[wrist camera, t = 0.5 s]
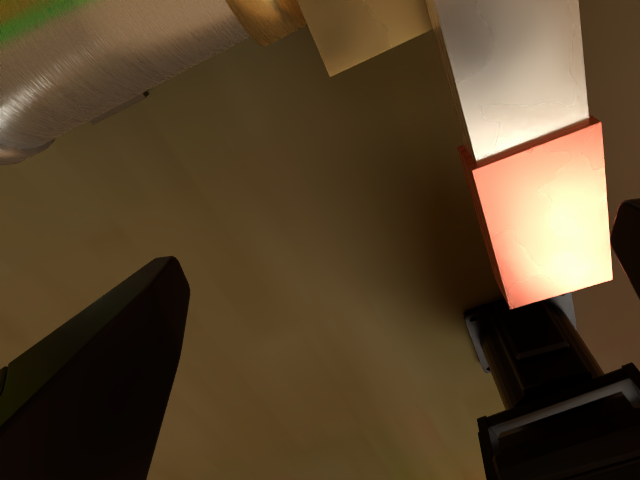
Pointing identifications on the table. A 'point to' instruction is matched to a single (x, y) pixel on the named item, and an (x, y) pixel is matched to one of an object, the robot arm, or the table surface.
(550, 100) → the lever
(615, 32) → the table surface
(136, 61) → the valve
